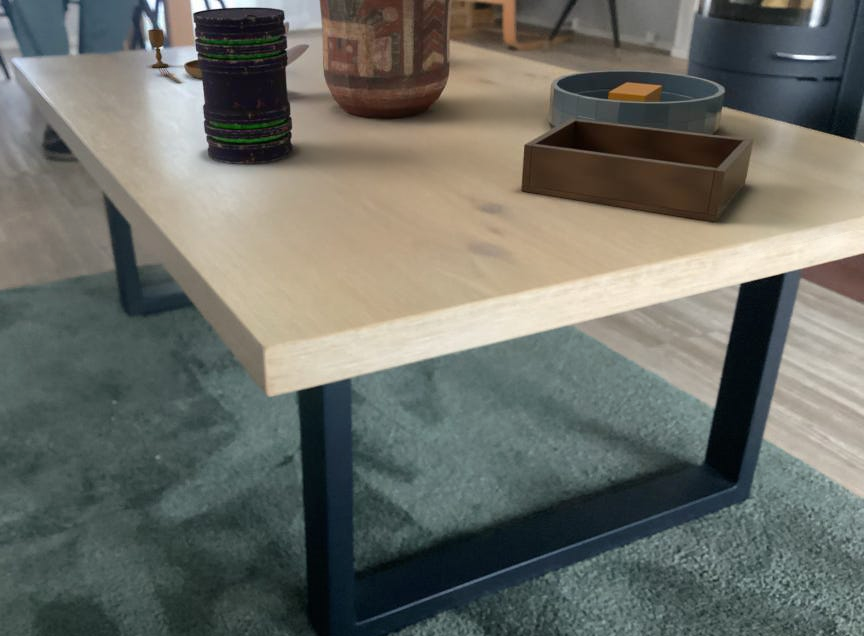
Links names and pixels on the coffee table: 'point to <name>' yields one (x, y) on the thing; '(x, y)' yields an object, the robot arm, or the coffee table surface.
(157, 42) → the place setting
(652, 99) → the block
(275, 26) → the storage jar
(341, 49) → the pottery
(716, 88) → the bowl
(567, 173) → the box
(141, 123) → the coffee table surface
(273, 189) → the coffee table surface
